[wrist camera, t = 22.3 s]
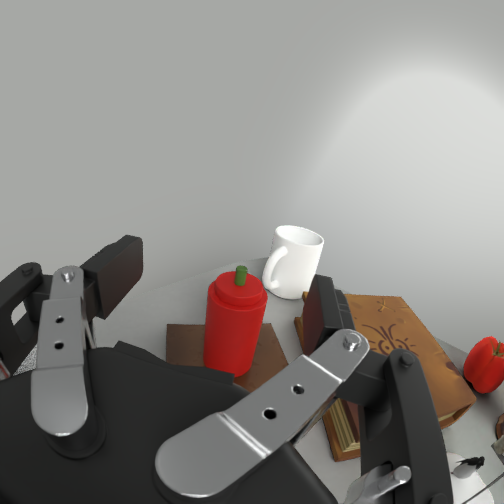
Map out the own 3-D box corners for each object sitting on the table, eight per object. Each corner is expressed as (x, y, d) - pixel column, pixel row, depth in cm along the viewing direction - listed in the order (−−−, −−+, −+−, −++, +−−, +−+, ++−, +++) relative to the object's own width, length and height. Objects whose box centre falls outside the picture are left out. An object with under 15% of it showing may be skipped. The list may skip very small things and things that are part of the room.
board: (168, 409, 23) (167, 402, 22) (167, 332, 33) (166, 323, 33) (297, 399, 27) (300, 392, 26) (268, 331, 37) (270, 323, 36)
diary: (453, 424, 22) (479, 397, 19) (334, 462, 19) (360, 439, 17) (391, 322, 42) (404, 295, 40) (293, 321, 40) (303, 290, 37)
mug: (277, 316, 40) (293, 256, 36) (239, 290, 45) (248, 233, 41) (316, 290, 49) (332, 239, 45) (282, 271, 54) (293, 222, 49)
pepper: (225, 386, 26) (241, 293, 21) (193, 354, 29) (197, 261, 24) (261, 362, 30) (285, 273, 24) (229, 336, 33) (242, 249, 28)
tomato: (460, 357, 34) (482, 324, 31) (492, 376, 29) (515, 345, 25) (453, 388, 28) (481, 352, 25) (489, 409, 22) (519, 376, 19)
